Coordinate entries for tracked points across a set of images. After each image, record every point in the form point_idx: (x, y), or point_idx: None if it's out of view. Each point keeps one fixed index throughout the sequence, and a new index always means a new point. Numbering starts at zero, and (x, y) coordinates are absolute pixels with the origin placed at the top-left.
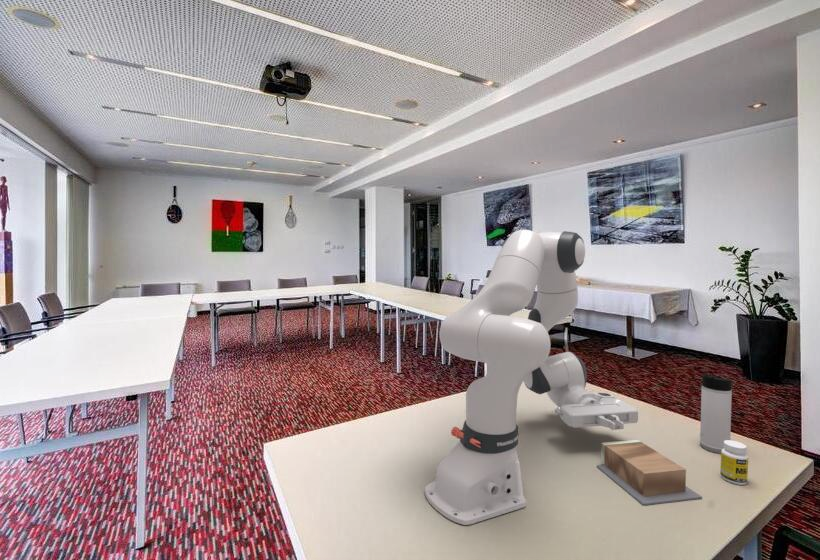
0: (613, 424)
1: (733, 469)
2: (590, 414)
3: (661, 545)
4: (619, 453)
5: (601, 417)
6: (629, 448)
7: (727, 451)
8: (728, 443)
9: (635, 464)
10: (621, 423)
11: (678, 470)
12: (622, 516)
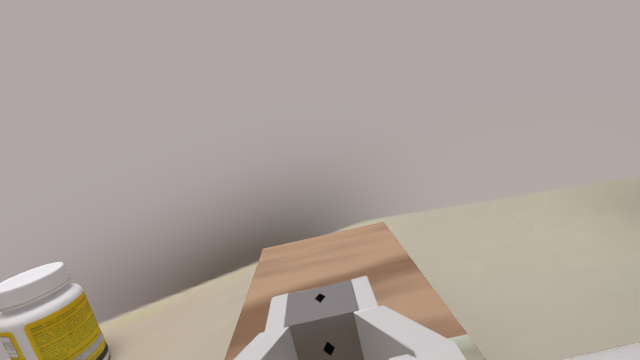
0: (365, 277)
1: (95, 318)
2: (630, 346)
3: (422, 216)
4: (411, 279)
5: (438, 353)
6: None
7: (61, 292)
8: (40, 275)
9: (385, 241)
10: (292, 293)
11: (285, 244)
12: (466, 239)
